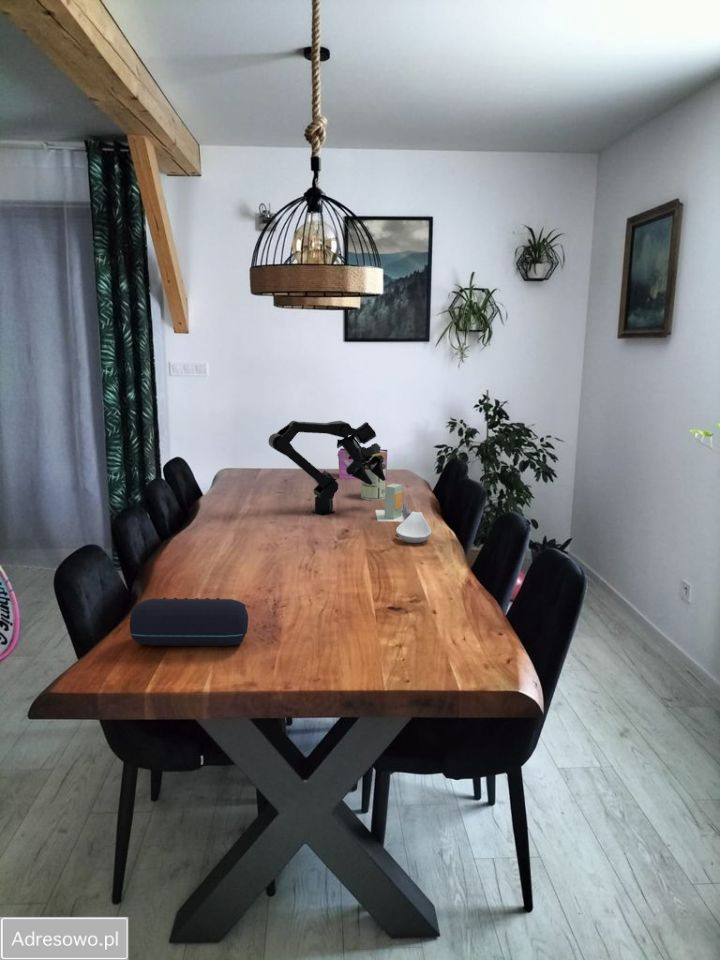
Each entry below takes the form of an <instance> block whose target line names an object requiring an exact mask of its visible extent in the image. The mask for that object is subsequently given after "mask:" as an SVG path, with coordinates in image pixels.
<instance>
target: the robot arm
mask: <svg viewBox="0 0 720 960" xmlns="http://www.w3.org/2000/svg"><path fill="white" fill-rule="evenodd" d="M298 433H309V434H324V435H325V434H327V435H332V436H335V437H338V438H339V439H338V438H337V439H336V441H337V442H336V449H340V448H341V447H342V448H344V449H345V450H346V452H347V453H348V455H349V457H348V458H349V460H350V459H352V460H353V462H352V463H351V464H350V465H349V466H348V467H347V468H346V472H347V474H348V475H351V476H352V477H355V478H358V479H357V480H360V481H361V480H362V481H363V482H365V483H367V484H369V485H372V481H371V479H370V478H369V476H368V475H367V473H366V471H365V467H368V468H369V469H371V470H370V471H371V472H372V473H374V474H375V475H376V476H377V477H379V478H380V479H381V480H383V481H385V482H386V481H387V478H386V479H385V476H384V473H383V470H382V463H383V460H384V458H383V457H382V455H376V456H374V457H373V456H372V455H374V454H376V453H380V449H381V448H382V447H381V445H379V444H378V443H377V442H375V443H373V444H371V445H370V446H368V447H366V446H361V444H363V445H365V444H367V443H369V442H370V441H372V440H373V439H374V438H376V437H377V434H376V430H374V429H373V427H372V426H371V425H370V423H369V422H364V423H362V424H361V425H360V426H358V427H357V428H354V427H352V426H351V425H350V424H349V423H348V422H345V421H343V420H336V421H335V420H334V421H328V422H314V421H313V422H310V421H297V420H291V421H290V422H289V423H287V424H286V425H285V426H284V427H283V428H281V429H279V430H278V431H277V432H276V433H272V434H271V435H270V436H269V437H268V445H269V446H270V447H271V448H272V449H273V450H275V451H277V452H278V453H280V454H282V455H284V456H285V457H287V458H288V459H290V460H291V461H292V462H293V463H295V465H297V466H298V467H299V468H300V469H301V470H302V471H304V472H305V473H306V474H307V475H308V476H309V477H311V478H312V480H313V481H314V482H315V484H316V486H315V487H314V489H313V490H312V492H313V494H314V495H315V497H314V510H311V512H312V513H314V514H318V515H321V516H326V515H330V514H334V513H336V511H335V510H334V508H333V507H334V500H333V499H334V496H335V494H336V492H337V491H338V489H339V483H338V481H337V480H338V479H337V478H336V477H334V476H333V475H332V474H331V473H330V472H328V471H327V470H323V471H320V470H319V469H318V468H317V467H316V466H314V465H313V464H312V463H311V462H309V461H308V460H307V459H306V457H304V456H303V455H302V454H300V453H299V452H298V451H297V450H296V449H295V447H293V445H292V443H291V442H292V441H293V440H294V439H295V437H296V436H297V434H298ZM340 438H342V439H340ZM372 457H373V458H372ZM370 458H372V459H371V460H370Z"/></svg>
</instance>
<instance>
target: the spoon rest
mask: <svg viewBox="0 0 720 960" xmlns="http://www.w3.org/2000/svg"><path fill="white" fill-rule="evenodd" d="M410 513H411V514H410V515H409V516H408V517H407V518H406V519H405V520H404V521H403V522H401V523H400V524H399V525H398V526H397V528H396V529H395V532H396V535H397V537H399V539H401V540H402V541H403V542H405V543H410V544H420V543H423V542H425V541H426V540H428V539H429V538H430V536H431V534H432V529H431V527H430V525H429V524H428V521H427V520H426V519H425V517H424V515H423V512H422V511H419V512H418V511H417V512H416V511H411V512H410Z"/></svg>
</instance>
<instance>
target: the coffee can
mask: <svg viewBox="0 0 720 960" xmlns="http://www.w3.org/2000/svg"><path fill="white" fill-rule="evenodd" d="M370 470H371V469H369V468H368V467H365V471H366V473H367V475H368V476H369V478H370V479H371V481H372V485H369V484H367V483H365V482H363V481H362V480H360V481H361V485H360V486H361V487H360V488H361V490H360V491H361V492H360V493H361V494H360V498H361V499H362V500H365V501H375V500H379V501H382V500H385V486H386V480H385V481H383V480H381V479H380V478H379V477H377V476H376V475H375V474H374V473H372V472H371V471H370ZM382 470H383V473H384V476H385V472H386V465H385V464H382Z"/></svg>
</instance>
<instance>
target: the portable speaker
mask: <svg viewBox="0 0 720 960" xmlns="http://www.w3.org/2000/svg"><path fill="white" fill-rule="evenodd" d="M248 629H249V613H248V610H247V609H246V604H245V603H243V602H242V601H240V600H236V599H233V598H218V597H217V598H209V597H206V598H199V597H198V598H197V597H195V598H187V597H185V598H177V597H174V598H166V597H163V598H149V599H145V600H142V601H140V602H138V603H137V604H135V605H134V606H133V608H132V610H131V613H130V618H129V633H130V635H131V636H130V637H131V639H132V641H133V642H135V643H138V644H139V645H143V646H144V645H145V646H151V647H153V646H155V647H157V646H159V647H160V646H161V647H162V646H167V647H168V646H169V647H171V646H172V647H173V646H175V647H180V646H181V647H183V646H186V647H187V646H188V647H189V646H190V647H195V646H196V647H230V646H231V647H232V646H237V645H240V644H242V643H243V641H244V639H245V637H246V635H247V633H248Z"/></svg>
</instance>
